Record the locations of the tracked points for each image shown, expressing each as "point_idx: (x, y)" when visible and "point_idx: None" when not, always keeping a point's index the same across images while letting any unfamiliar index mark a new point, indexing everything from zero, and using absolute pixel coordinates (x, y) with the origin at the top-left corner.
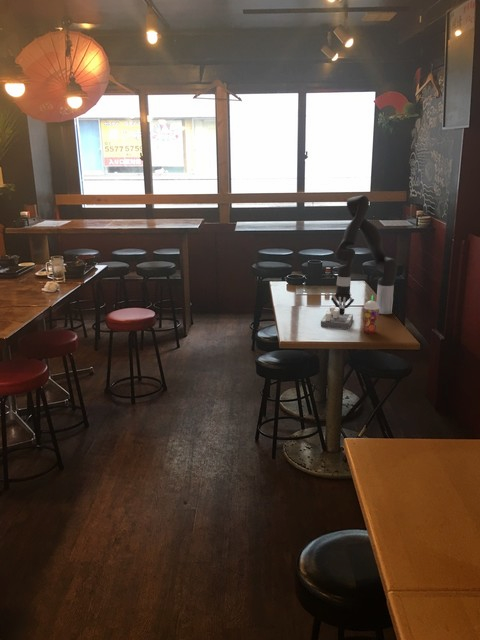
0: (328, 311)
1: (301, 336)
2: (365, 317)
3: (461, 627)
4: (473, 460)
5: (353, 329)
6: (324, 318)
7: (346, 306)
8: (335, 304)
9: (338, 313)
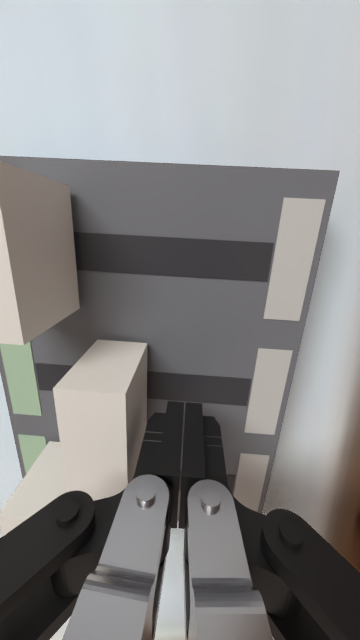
0: (12, 519)
1: None
2: None
3: None
4: None
5: (288, 480)
6: (28, 437)
7: (271, 609)
8: (21, 618)
9: (138, 397)
